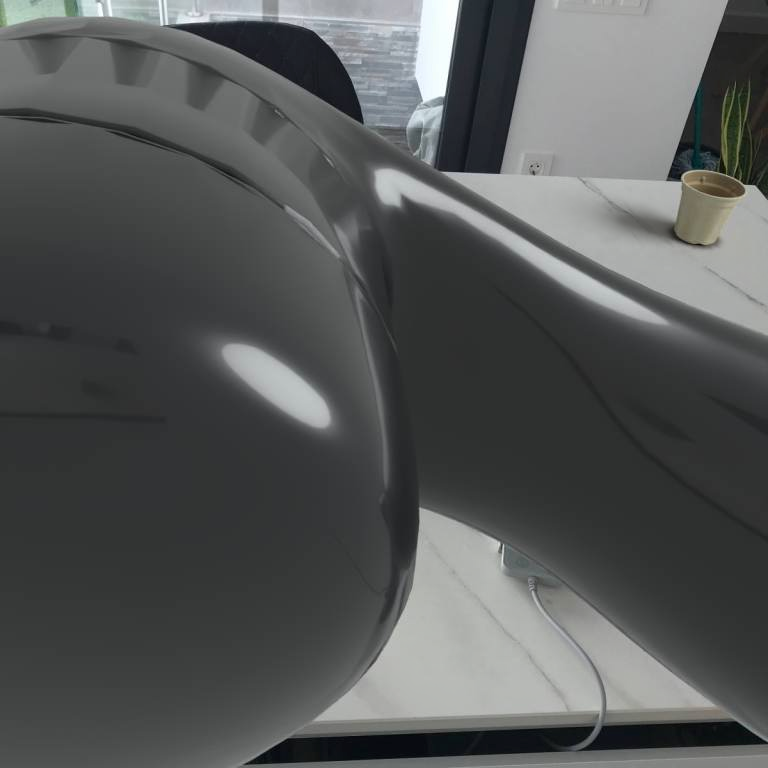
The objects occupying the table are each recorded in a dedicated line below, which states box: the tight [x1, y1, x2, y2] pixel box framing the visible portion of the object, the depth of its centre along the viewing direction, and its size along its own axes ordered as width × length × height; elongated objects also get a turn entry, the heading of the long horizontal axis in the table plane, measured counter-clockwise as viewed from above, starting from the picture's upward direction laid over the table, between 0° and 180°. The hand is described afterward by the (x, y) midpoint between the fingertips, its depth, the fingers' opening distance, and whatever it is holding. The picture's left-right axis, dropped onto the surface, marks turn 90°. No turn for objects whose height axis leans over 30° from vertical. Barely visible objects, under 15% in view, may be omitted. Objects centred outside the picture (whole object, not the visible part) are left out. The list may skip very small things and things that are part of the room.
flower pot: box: [673, 169, 749, 246], centre depth 116 cm, size 9×9×9 cm
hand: (245, 494), depth 45 cm, fingers open, 8 cm apart
